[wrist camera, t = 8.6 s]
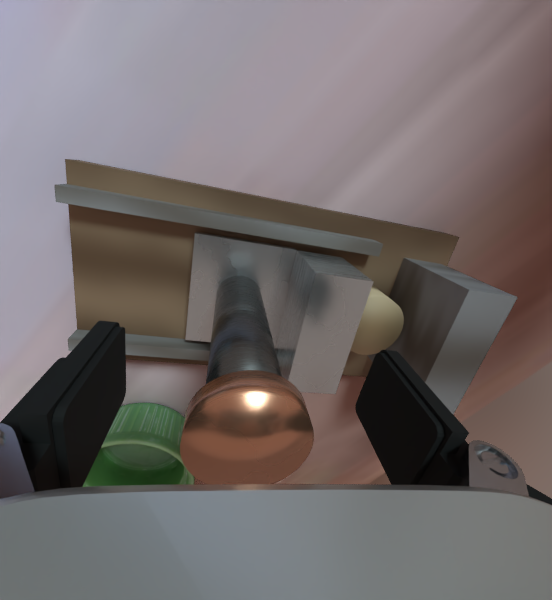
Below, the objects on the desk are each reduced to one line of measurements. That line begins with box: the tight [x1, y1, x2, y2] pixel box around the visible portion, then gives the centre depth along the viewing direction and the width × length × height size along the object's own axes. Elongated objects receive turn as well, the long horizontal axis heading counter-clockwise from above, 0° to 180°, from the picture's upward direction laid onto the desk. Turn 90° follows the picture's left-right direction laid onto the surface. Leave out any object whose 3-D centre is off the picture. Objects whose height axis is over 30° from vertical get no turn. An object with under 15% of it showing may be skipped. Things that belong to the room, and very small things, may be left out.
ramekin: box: [83, 403, 194, 487], centre depth 23 cm, size 9×9×4 cm
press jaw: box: [180, 232, 374, 484], centre depth 14 cm, size 7×9×12 cm
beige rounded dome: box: [351, 285, 404, 355], centre depth 19 cm, size 4×4×3 cm
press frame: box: [55, 159, 518, 414], centre depth 17 cm, size 12×24×8 cm, turn 79°
